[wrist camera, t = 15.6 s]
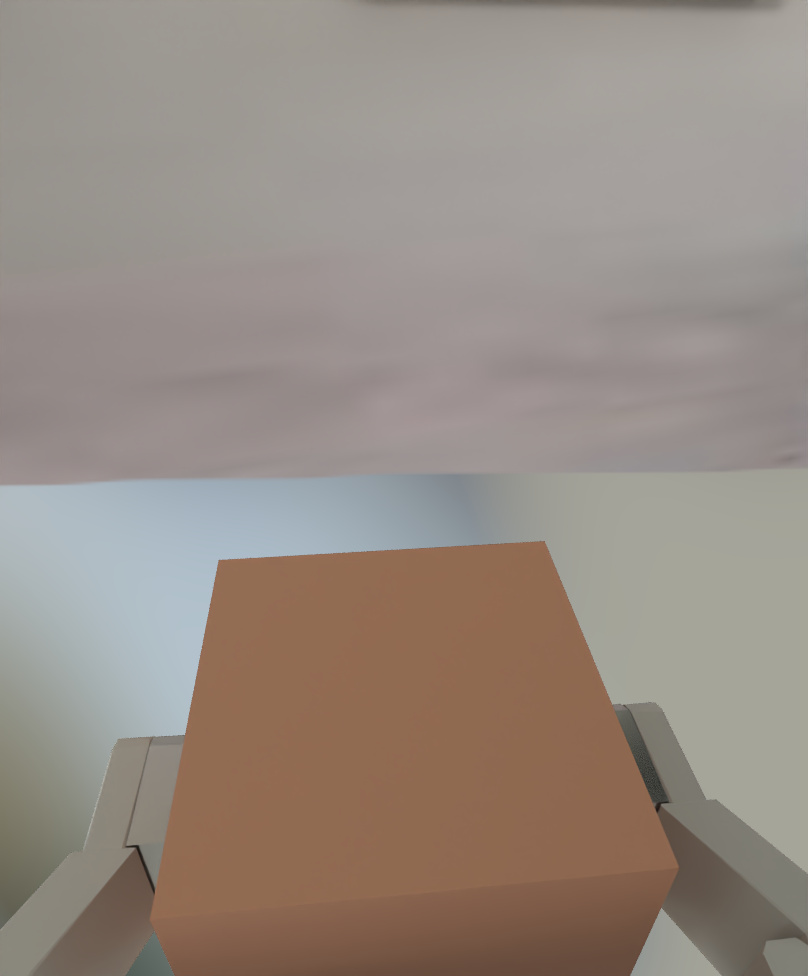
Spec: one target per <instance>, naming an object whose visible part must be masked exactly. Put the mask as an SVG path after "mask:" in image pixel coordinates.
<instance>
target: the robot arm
mask: <svg viewBox="0 0 808 976" xmlns="http://www.w3.org/2000/svg"><path fill="white" fill-rule="evenodd" d="M612 706H613V708H614V711H615V713H616V715H617V718H618V720H619V723H620V725H621V728H622V730H623V732H624V735H625V737H626V740H627V742H628V744H629V747H630V749H631V752H632V754H633V757H634V759H635V761H636V764H637V766H638V769H639V771H640V774H641V776H642V778H643V781H644V783H645V786H646V788H647V790H648V793H649V795H650V798H651V800H652V803H653V805H654V807H655V810H656V812H657V815H658V817H659V820H660V822H661V824H662V827H663V829H664V832H665V834H666V836H667V839H668V841H669V844H670V846H671V849H672V851H673V853H674V856H675V858H676V861H677V863H678V866H679V870H678V872H677V874H676V877H675V879H674V881H673V883H672V885H671V887H670V890H669V892H668V894H667V896H666V898H665V900H664V903H663V905H662V907H661V908H662V909H663V910H664V911H665V912H666V913H667V914H668V915H669V917H670V918H671V919H672V920H673V921H674V922H675V923H676V925H677V926H678V927H679V928H680V929H681V930H682V931H683V932H684V934H685V935H686V936H687V937H688V938H689V939H690V940H691V941H692V943H693V944H694V945H695V946H696V947H697V948H698V949H699V950H700V952H701V953H702V954H703V955H704V956H705V957H706V958H707V959H708V961H709V962H710V963H711V964H712V965H713V966H714V967H715V968H716V970H717V971H718V972H719V973H720V974H721V975H722V976H808V874H807V873H806V872H805V871H803V870H802V869H801V868H800V867H799V866H797V865H796V864H795V863H794V862H792V861H791V860H790V859H789V858H788V857H786V856H785V855H784V854H782V853H781V852H780V851H779V850H777V849H776V848H775V847H774V846H773V845H772V844H770V843H769V842H768V841H767V840H765V839H764V838H763V837H762V836H760V835H759V834H758V833H757V832H756V831H754V830H753V829H752V828H751V827H749V826H748V825H747V824H746V823H744V822H743V821H742V820H741V819H739V818H738V817H737V816H736V815H735V814H733V813H732V812H731V811H730V810H728V809H727V808H726V807H725V806H723V805H722V804H721V803H720V802H718V801H717V800H706V798H705V796H704V794H703V792H702V790H701V788H700V786H699V784H698V782H697V780H696V778H695V775H694V774H693V771H692V769H691V767H690V765H689V763H688V761H687V759H686V757H685V755H684V753H683V751H682V749H681V747H680V745H679V743H678V741H677V739H676V737H675V735H674V733H673V731H672V729H671V727H670V725H669V723H668V721H667V719H666V716H665V714H664V712H663V710H662V709H661V708H660V707H659V706H658V705H657V704H656V703H652V702H649V703H638V704H628V705H621V704H613V705H612ZM184 739H185V735H178V736H161V737H155V736H154V737H138V738H124V739H118V741H117V743H116V744H115V746H114V748H113V749H112V751H111V755H110V758H109V762H108V765H107V769H106V772H105V775H104V779H103V783H102V786H101V789H100V793H99V796H98V799H97V803H96V806H95V810H94V813H93V817H92V820H91V824H90V827H89V831H88V834H87V838H86V841H85V844H84V848H83V851H78V852H71V853H70V855H69V856H68V857H67V858H66V859H65V860H64V861H63V862H62V863H61V864H60V866H59V867H58V868H57V869H56V870H55V871H54V872H53V873H52V874H51V875H50V876H49V878H48V879H47V880H46V881H45V882H44V883H43V884H42V885H41V886H40V887H39V888H38V890H37V891H36V892H35V893H34V894H33V895H32V896H31V897H30V898H29V899H28V900H27V902H26V903H25V904H24V905H23V906H22V907H21V908H20V909H19V910H18V911H17V912H16V913H15V915H14V916H13V917H12V918H11V919H10V920H9V921H8V922H7V923H6V924H5V925H4V927H3V928H2V929H1V930H0V976H125V975H126V973H127V972H128V970H129V969H130V967H131V966H132V964H133V963H134V961H135V960H136V958H137V956H138V955H139V953H140V952H141V950H142V949H143V947H144V946H145V944H146V943H147V941H148V940H149V938H150V937H151V935H152V934H153V932H154V928H153V926H152V924H151V922H150V916H151V910H152V905H153V900H154V895H155V890H156V884H157V879H158V874H159V869H160V863H161V858H162V853H163V848H164V843H165V837H166V832H167V827H168V822H169V817H170V811H171V806H172V801H173V796H174V791H175V785H176V780H177V775H178V770H179V765H180V759H181V754H182V749H183V744H184Z"/></svg>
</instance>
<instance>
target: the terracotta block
mask: <svg viewBox="0 0 808 976" xmlns="http://www.w3.org/2000/svg"><path fill="white" fill-rule="evenodd" d="M678 870H679V866H678V863H677V861H676V858H675V856H674V853H673V851H672V849H671V846H670V844H669V841H668V839H667V836H666V834H665V832H664V829H663V827H662V824H661V822H660V820H659V817H658V815H657V812H656V810H655V807H654V805H653V803H652V800H651V798H650V795H649V793H648V790H647V788H646V786H645V783H644V781H643V778H642V776H641V774H640V771H639V769H638V766H637V764H636V761H635V759H634V757H633V754H632V752H631V749H630V747H629V744H628V742H627V740H626V737H625V735H624V732H623V730H622V728H621V725H620V723H619V720H618V718H617V715H616V713H615V711H614V708H613V706H612V703H611V701H610V698H609V696H608V694H607V691H606V689H605V686H604V684H603V682H602V679H601V677H600V674H599V672H598V670H597V667H596V665H595V662H594V660H593V657H592V655H591V653H590V650H589V648H588V645H587V643H586V640H585V638H584V636H583V633H582V631H581V628H580V626H579V624H578V621H577V619H576V616H575V614H574V611H573V609H572V606H571V604H570V602H569V599H568V597H567V594H566V592H565V590H564V587H563V585H562V582H561V580H560V577H559V575H558V573H557V570H556V568H555V566H554V563H553V560H552V558H551V556H550V553H549V551H548V549H547V546H546V544H545V541H540V542H523V543H505V544H488V545H471V546H454V547H437V548H419V549H402V550H385V551H367V552H352V553H333V554H316V555H299V556H282V557H264V558H247V559H230V560H219V562H218V567H217V572H216V577H215V582H214V588H213V593H212V598H211V603H210V608H209V614H208V619H207V624H206V629H205V634H204V640H203V645H202V650H201V655H200V660H199V666H198V671H197V676H196V681H195V687H194V692H193V697H192V702H191V707H190V713H189V718H188V723H187V728H186V733H185V739H184V744H183V749H182V754H181V759H180V765H179V770H178V775H177V780H176V785H175V791H174V796H173V801H172V806H171V811H170V817H169V822H168V827H167V832H166V837H165V843H164V848H163V853H162V858H161V863H160V869H159V874H158V879H157V884H156V890H155V895H154V900H153V905H152V910H151V916H150V922H151V924H152V926H153V928H154V931H155V933H156V935H157V937H158V939H159V942H160V944H161V946H162V948H163V951H164V953H165V955H166V957H167V960H168V962H169V964H170V966H171V968H172V971H173V973H174V975H175V976H630V974H631V972H632V970H633V968H634V966H635V964H636V961H637V959H638V957H639V955H640V953H641V950H642V948H643V946H644V944H645V942H646V940H647V937H648V935H649V933H650V931H651V929H652V926H653V924H654V922H655V920H656V918H657V916H658V913H659V911H660V909H661V907H662V905H663V903H664V900H665V898H666V896H667V894H668V892H669V890H670V887H671V885H672V883H673V881H674V879H675V877H676V874H677V872H678Z"/></svg>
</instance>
